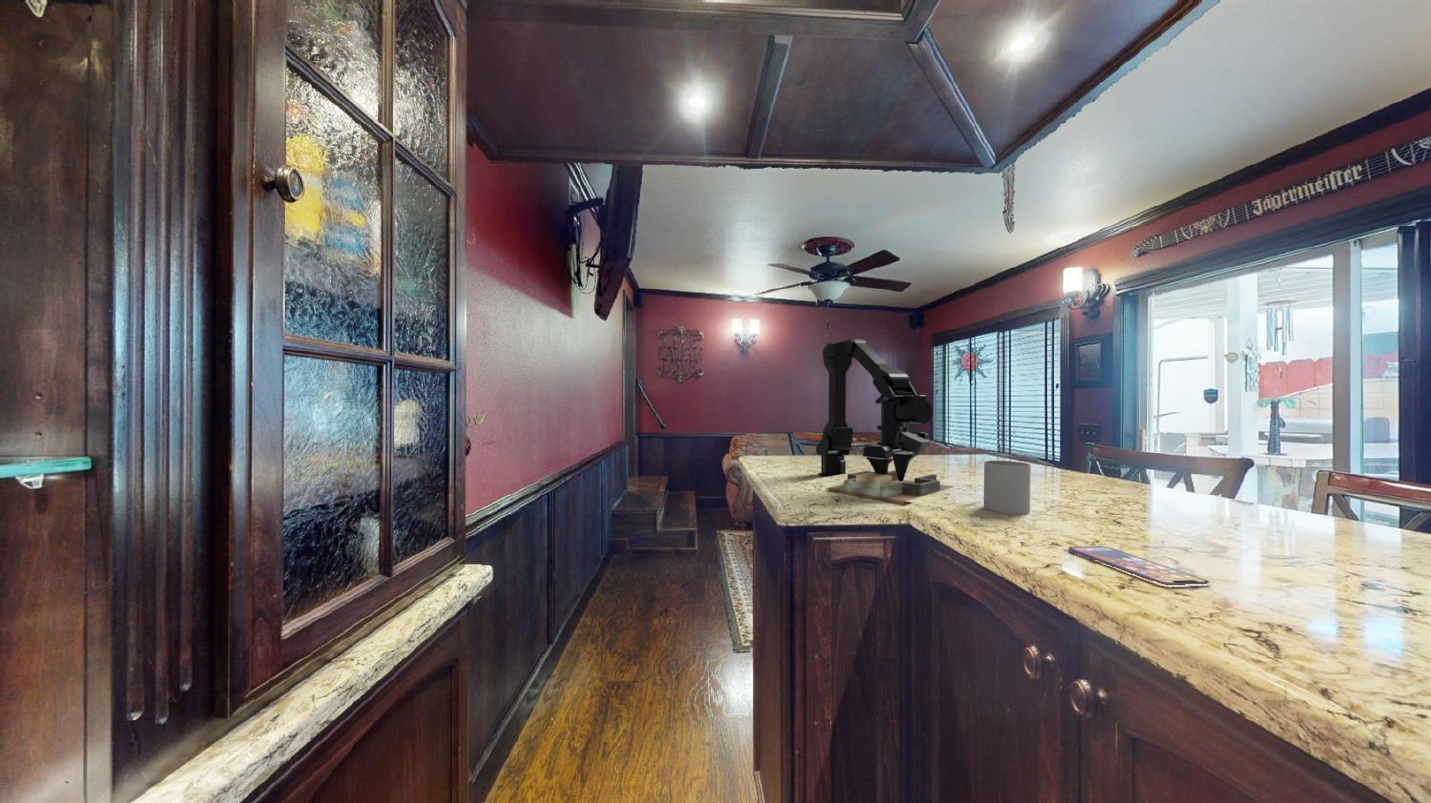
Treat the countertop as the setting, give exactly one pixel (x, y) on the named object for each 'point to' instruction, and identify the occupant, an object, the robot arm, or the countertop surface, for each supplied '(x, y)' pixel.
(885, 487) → the trap lane
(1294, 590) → the countertop surface
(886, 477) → the maple block
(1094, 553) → the smartphone
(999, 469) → the cup
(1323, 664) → the countertop surface
